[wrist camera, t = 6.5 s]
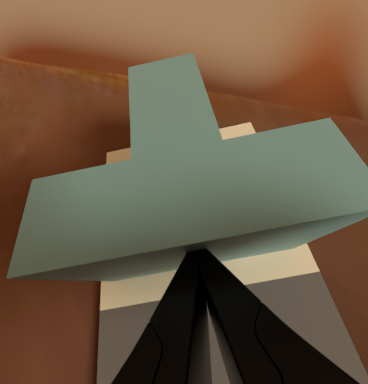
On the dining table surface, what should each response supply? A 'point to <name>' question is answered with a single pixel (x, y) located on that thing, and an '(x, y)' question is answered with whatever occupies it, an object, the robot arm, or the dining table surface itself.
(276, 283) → the mat
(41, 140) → the dining table surface
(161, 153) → the t block
